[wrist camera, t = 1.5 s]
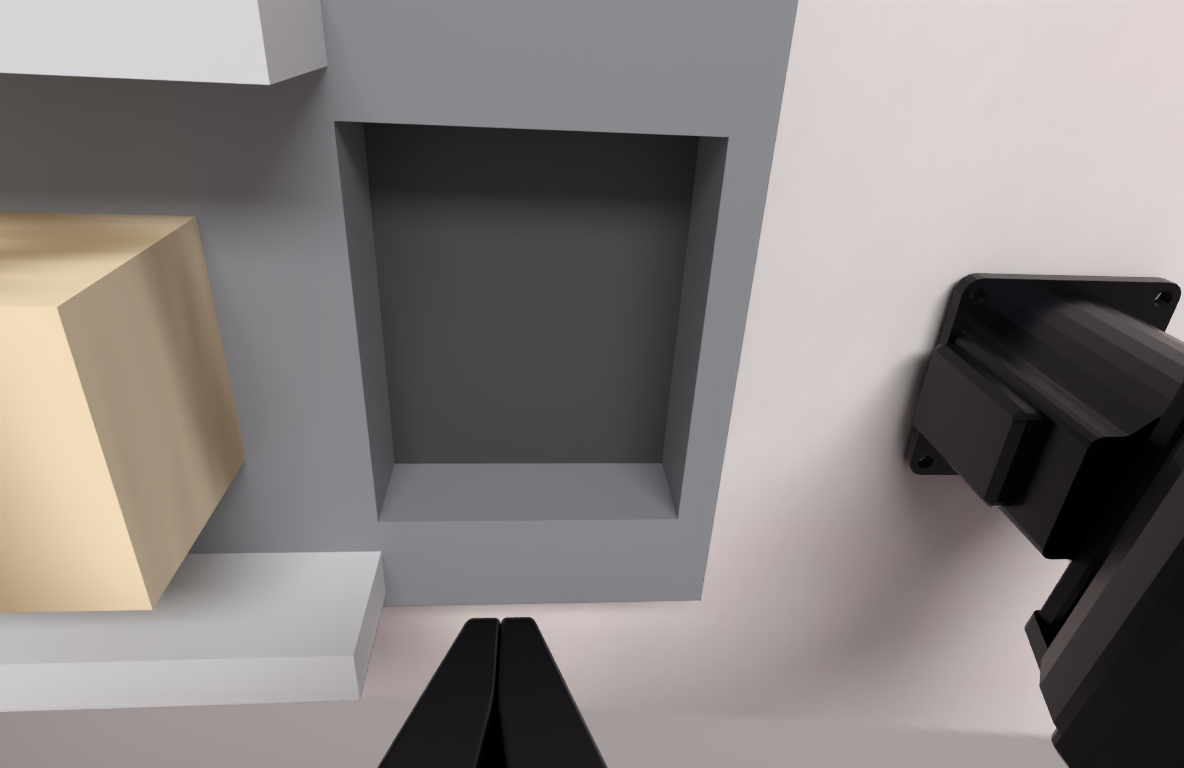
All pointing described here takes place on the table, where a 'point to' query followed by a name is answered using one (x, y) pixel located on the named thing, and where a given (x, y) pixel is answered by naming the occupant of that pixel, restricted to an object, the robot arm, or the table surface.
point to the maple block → (107, 408)
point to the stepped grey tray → (412, 305)
